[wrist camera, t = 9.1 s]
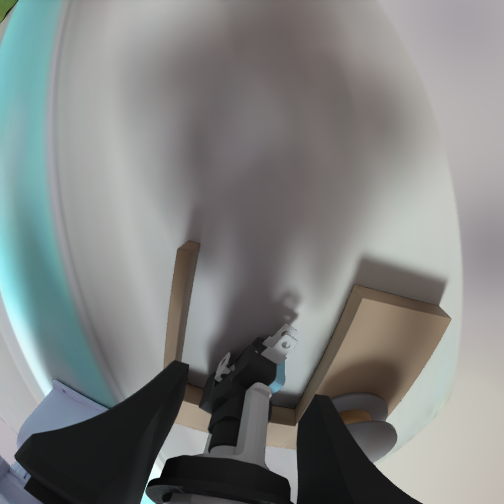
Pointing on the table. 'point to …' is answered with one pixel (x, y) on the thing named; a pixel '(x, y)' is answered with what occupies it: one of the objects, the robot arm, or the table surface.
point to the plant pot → (5, 7)
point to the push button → (233, 434)
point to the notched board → (334, 361)
